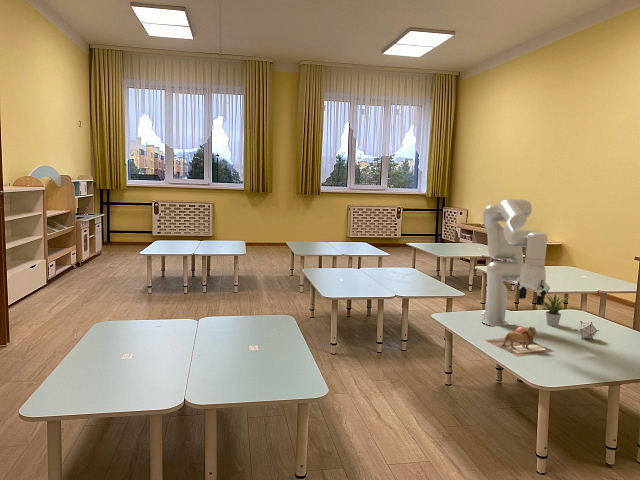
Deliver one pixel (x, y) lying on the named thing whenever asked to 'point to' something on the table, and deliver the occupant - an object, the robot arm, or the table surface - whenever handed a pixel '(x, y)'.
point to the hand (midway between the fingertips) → (530, 301)
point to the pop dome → (520, 329)
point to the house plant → (553, 311)
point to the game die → (586, 330)
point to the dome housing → (521, 342)
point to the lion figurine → (520, 337)
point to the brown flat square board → (520, 347)
